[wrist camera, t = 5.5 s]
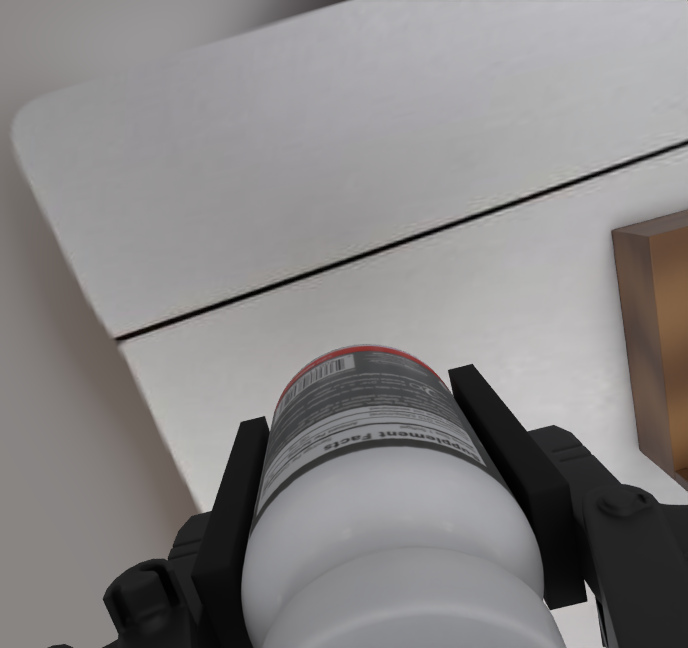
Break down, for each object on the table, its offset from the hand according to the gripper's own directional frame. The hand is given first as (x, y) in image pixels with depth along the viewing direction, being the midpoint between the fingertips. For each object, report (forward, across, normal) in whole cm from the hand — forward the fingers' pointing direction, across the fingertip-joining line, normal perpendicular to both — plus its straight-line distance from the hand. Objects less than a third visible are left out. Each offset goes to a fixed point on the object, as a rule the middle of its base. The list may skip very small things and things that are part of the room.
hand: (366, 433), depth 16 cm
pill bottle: (+1, 0, 0) cm, 1 cm away
